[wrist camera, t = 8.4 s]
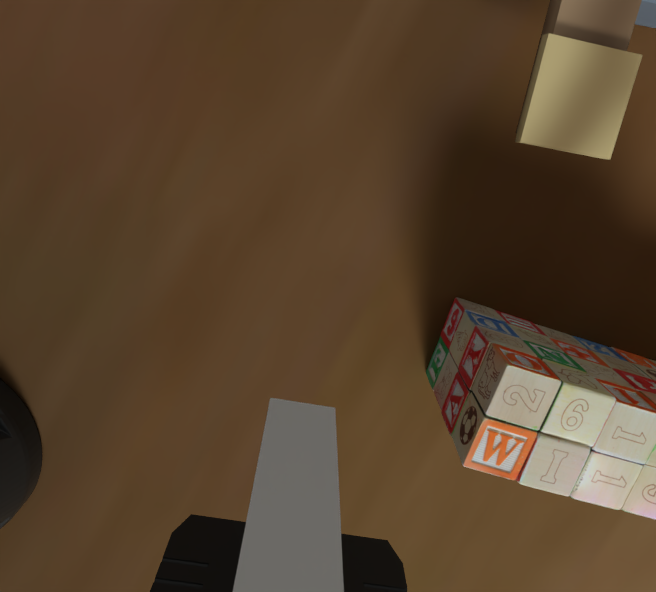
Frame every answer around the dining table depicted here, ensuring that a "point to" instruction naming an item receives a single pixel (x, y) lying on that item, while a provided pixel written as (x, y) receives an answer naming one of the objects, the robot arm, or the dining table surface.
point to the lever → (581, 77)
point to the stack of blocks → (548, 408)
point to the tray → (647, 14)
